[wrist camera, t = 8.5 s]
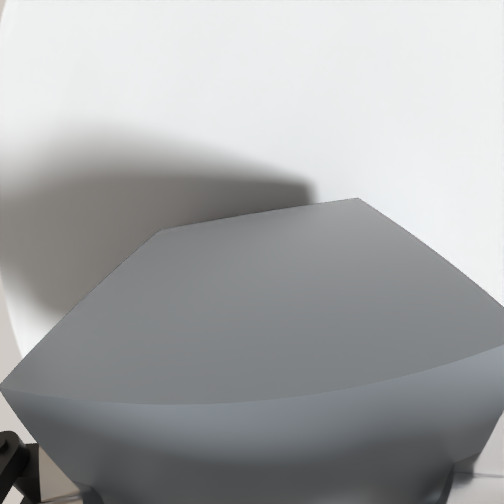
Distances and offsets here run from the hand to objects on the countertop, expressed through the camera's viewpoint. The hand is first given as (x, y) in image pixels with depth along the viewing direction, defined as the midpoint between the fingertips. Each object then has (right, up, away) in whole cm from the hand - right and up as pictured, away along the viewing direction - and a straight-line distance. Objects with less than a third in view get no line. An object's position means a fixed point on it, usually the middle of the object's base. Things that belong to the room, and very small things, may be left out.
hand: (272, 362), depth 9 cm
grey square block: (0, +1, +3) cm, 4 cm away
